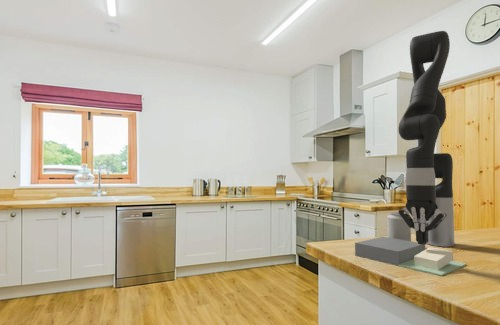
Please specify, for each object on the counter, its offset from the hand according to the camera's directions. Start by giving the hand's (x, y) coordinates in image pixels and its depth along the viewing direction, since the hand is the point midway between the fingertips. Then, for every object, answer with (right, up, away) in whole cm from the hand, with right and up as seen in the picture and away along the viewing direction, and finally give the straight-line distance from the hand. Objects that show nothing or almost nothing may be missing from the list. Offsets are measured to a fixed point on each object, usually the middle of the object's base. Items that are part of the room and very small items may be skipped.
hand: (422, 243), depth 88 cm
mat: (+2, -5, -2) cm, 6 cm away
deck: (-6, -6, +8) cm, 11 cm away
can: (+3, -7, +21) cm, 22 cm away
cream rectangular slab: (+1, -2, -3) cm, 4 cm away
